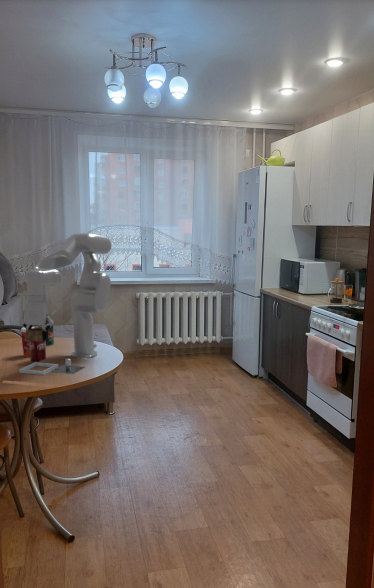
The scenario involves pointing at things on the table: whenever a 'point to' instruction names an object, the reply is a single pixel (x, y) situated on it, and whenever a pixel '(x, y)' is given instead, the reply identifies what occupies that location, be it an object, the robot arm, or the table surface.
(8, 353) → the table surface
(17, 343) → the table surface
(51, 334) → the canned tomato
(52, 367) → the tray
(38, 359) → the soda can
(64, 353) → the table surface
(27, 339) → the brown hollow square block
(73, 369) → the grey peg base
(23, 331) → the paper cup
